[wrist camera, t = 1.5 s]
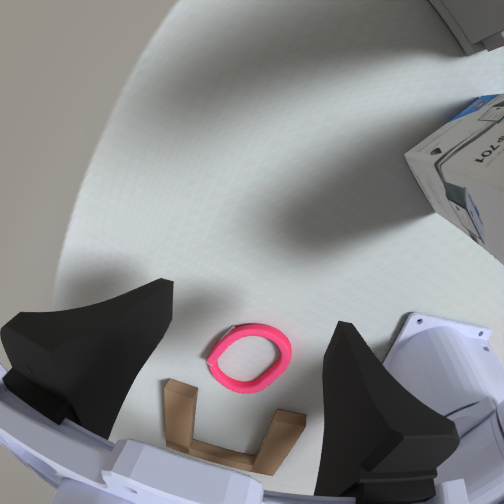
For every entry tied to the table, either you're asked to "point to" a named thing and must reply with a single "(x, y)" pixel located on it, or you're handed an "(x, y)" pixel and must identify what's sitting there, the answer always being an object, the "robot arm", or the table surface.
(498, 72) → the table surface
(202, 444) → the notched board
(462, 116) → the ink box
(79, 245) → the table surface
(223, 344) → the fitness band
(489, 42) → the tall grey pillar
